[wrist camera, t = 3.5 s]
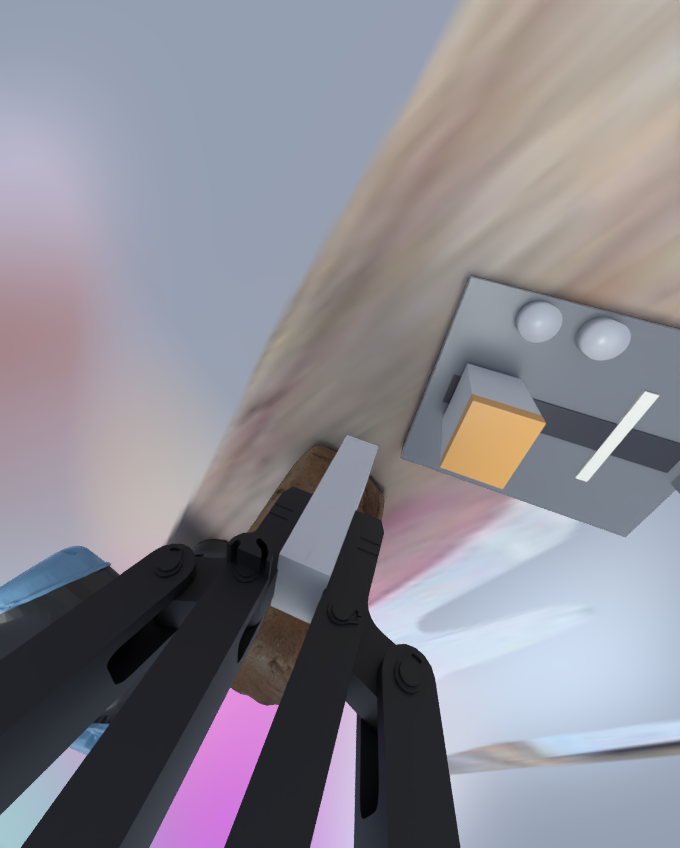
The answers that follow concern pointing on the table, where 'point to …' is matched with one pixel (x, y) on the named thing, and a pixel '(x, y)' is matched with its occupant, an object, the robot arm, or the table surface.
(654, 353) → the console board
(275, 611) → the brown rounded upright piece
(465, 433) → the fader tab
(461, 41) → the table surface
